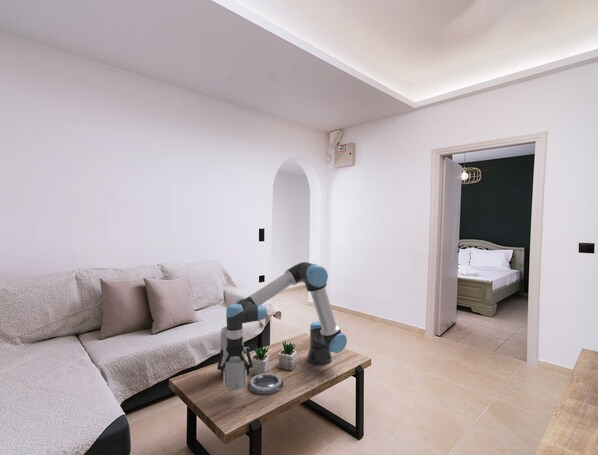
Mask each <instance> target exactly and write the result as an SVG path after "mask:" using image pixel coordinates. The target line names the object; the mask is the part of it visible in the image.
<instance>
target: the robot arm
mask: <svg viewBox="0 0 598 455" xmlns="http://www.w3.org/2000/svg"><path fill="white" fill-rule="evenodd" d="M328 274H329V273H328V271H327V270H326V268H325V267H324V266H323V265H320V264H317V263H311V262H307V261H303V262H299V263H297V264H294V265H293V266H291V267H290V268H287V270H285V272H284V273H283V274H282V275H280V276H279V277H277V278H275V279H274V280H272V281H271V282H269V283H268V284H266V285H264V286H263V287H262V288H260V289H259V290H258V289H257V290H256V291H255V292H253V293H252V294H251V295H249V296H248V297H246V298H239V299H238V300H237V301H236V302H235V303H231V304H229V305H227V307H226V310H225V311H226V315H225V316H226V317H225V318H226V319H225V320H226V327H227V337H228V338H227V347H226V348H221V347H220V350H219V352H220V356H219V358H218V359H219V360H218V364H217V368H216V369H217V370H218V371H219V370H220V375H221V378H223V385H226V374H225V362H224V364H223V366H221V362H222V358H223V354H224V353H225V351H227V352H228V356H227V358H226V360H225V361H226V362H228V360H229V359H230V357H231V356H232V357H234V356H236V357H238V356H239V358H240V359H241V360H242V361H244V360H245V361H244V365H245V384H248V376H249V375H250V369H252V368H253V367H254V364H253V361H252V360H253V359H252V356H251V354H250V346H248V345H247V346H244V327H243V324H247V323H248V324H249V323H252V322H259V321H262V320H265V318H266V316H267V315H266V313H267V310H266V308H265V306H264V305H263V304H265V303H266V302H268V301H269V300H271V299H272V298H274V297H276V296H277V295H278V294H280V293H281V292H283V291H285V290H286V289H287V288H289V287H290V286H296V285H297V284H299V283H303V284H305V288H306V291H307V292H309V293H310V296H311V298H312V302H313V304H314V308H315V311H316V314H317V317H318V320H319V321H315V322H312V323H311V324H310V326H309V327H310V328H309V331H310V332H309V334H310V336H309V340H310V341H309V349H308V353H307V361H308V362H309V363H310V364H313V365H320V366H322V365H323V366H324V365H327V364H330V363H331V362H332V359H333V358H332V357H333V356H332V353H334V354H340V353H341V352H343V351H344V349H345V348H346V346H347V343H348V338H347V336H346V334H344V333H342V331H341V327H340V324H338V323H336V319H335V317H334V313H333V309H332V307H331V303H330V300H329V297H328V293H327V290H326V287H327V284H328V283H327V282H328V278H329V275H328ZM242 327H243V328H242ZM242 335H243V337H242ZM242 351H243V352H245V353H246V354H245V355H246V358H247V360H246V358H245V356H244V353H243V354H242Z"/></svg>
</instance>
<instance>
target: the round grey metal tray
mask: <svg viewBox="0 0 598 455" xmlns="http://www.w3.org/2000/svg"><path fill="white" fill-rule="evenodd" d="M247 384H248V390H249V391H250V392H251V393H253V394H256V395H258V396H259V395H261V396H268V395H273V394H277V393H278V392H280V391H282V388H283V387H284V381H283V380H282V377H280V376H279V375H278V374H274V373H270V372H268V373H267V372H266V373H259V374H256V375H253V377H251V379H250V381H249V382H248V383H247Z"/></svg>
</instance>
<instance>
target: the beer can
mask: <svg viewBox="0 0 598 455" xmlns="http://www.w3.org/2000/svg"><path fill="white" fill-rule="evenodd" d="M244 361H245V360H244ZM244 361H242V360H241V359H240V358H239V356H238V357H236V356H234V357H232V356H231V357H230V359H229V360H228V362H226V361H225V374H226V383H225V388H226V389H227V390H229V391H237V390H240V389H241V390H242V389H243V388H244V387H245V385H246V383H245V365H244Z"/></svg>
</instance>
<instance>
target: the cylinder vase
mask: <svg viewBox="0 0 598 455" xmlns="http://www.w3.org/2000/svg"><path fill="white" fill-rule="evenodd" d="M242 328H243V329H244V327H243V326H242ZM242 337H243V338H244V334H243V335H242ZM227 338H228V337H227V326H224V327H221V329H220V349H221V348H226V347H227ZM242 354H243V355H244V350H243V351H242ZM227 356H228V352H227V351H225V353H224V354H223V358H222V362H221V366H223V364H224V362H225V360H226V358H227Z"/></svg>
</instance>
